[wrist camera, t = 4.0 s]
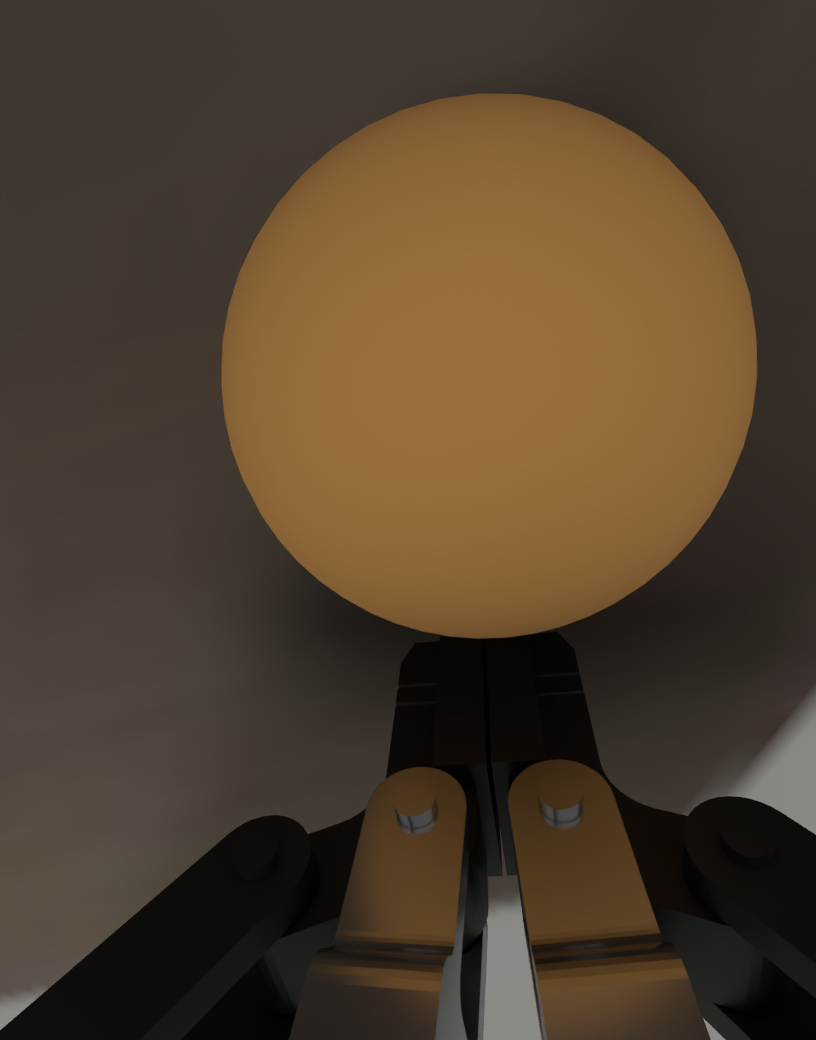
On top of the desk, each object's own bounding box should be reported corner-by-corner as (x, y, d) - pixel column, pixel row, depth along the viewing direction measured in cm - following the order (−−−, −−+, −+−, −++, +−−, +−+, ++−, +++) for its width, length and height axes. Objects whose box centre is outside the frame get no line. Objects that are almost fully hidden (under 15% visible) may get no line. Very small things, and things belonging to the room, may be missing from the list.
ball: (249, 164, 10) (-10, 137, 5) (669, 80, 9) (964, -77, 4) (335, 522, 12) (234, 775, 7) (668, 484, 12) (839, 738, 6)
